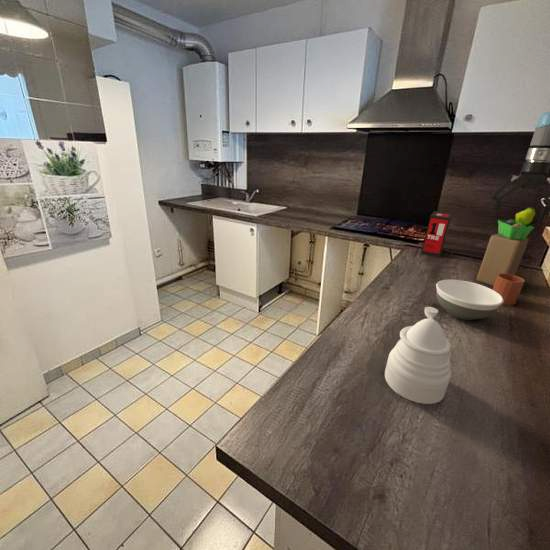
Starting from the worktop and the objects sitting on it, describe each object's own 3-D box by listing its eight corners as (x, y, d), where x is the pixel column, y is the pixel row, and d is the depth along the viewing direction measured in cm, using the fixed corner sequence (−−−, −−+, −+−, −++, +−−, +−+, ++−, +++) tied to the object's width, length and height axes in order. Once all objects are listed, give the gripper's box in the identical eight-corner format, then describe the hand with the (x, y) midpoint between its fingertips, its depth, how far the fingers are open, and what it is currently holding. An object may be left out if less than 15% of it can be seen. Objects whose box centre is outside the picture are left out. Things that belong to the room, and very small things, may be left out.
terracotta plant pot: (515, 299, 108) (524, 277, 104) (514, 307, 102) (524, 284, 98) (490, 293, 112) (498, 271, 108) (488, 300, 106) (496, 277, 103)
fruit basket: (493, 231, 119) (502, 204, 115) (517, 233, 117) (528, 205, 113) (506, 239, 109) (517, 209, 104) (533, 241, 107) (546, 211, 103)
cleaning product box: (425, 246, 167) (434, 211, 159) (442, 249, 162) (452, 213, 154) (421, 253, 154) (430, 215, 146) (439, 257, 150) (450, 218, 142)
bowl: (503, 334, 86) (513, 310, 83) (433, 321, 92) (440, 297, 88) (485, 306, 102) (493, 284, 99) (427, 295, 108) (432, 275, 105)
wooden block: (512, 284, 120) (530, 237, 112) (502, 289, 115) (520, 241, 107) (485, 275, 128) (500, 231, 120) (474, 280, 123) (490, 234, 115)
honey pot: (383, 358, 74) (397, 295, 67) (438, 369, 71) (459, 305, 64) (385, 395, 63) (403, 324, 56) (451, 410, 60) (478, 337, 53)
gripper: (494, 160, 107) (477, 217, 116) (588, 163, 93) (561, 228, 101) (496, 160, 113) (479, 214, 121) (585, 163, 98) (559, 224, 107)
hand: (516, 221), depth 111 cm, fingers open, 13 cm apart
